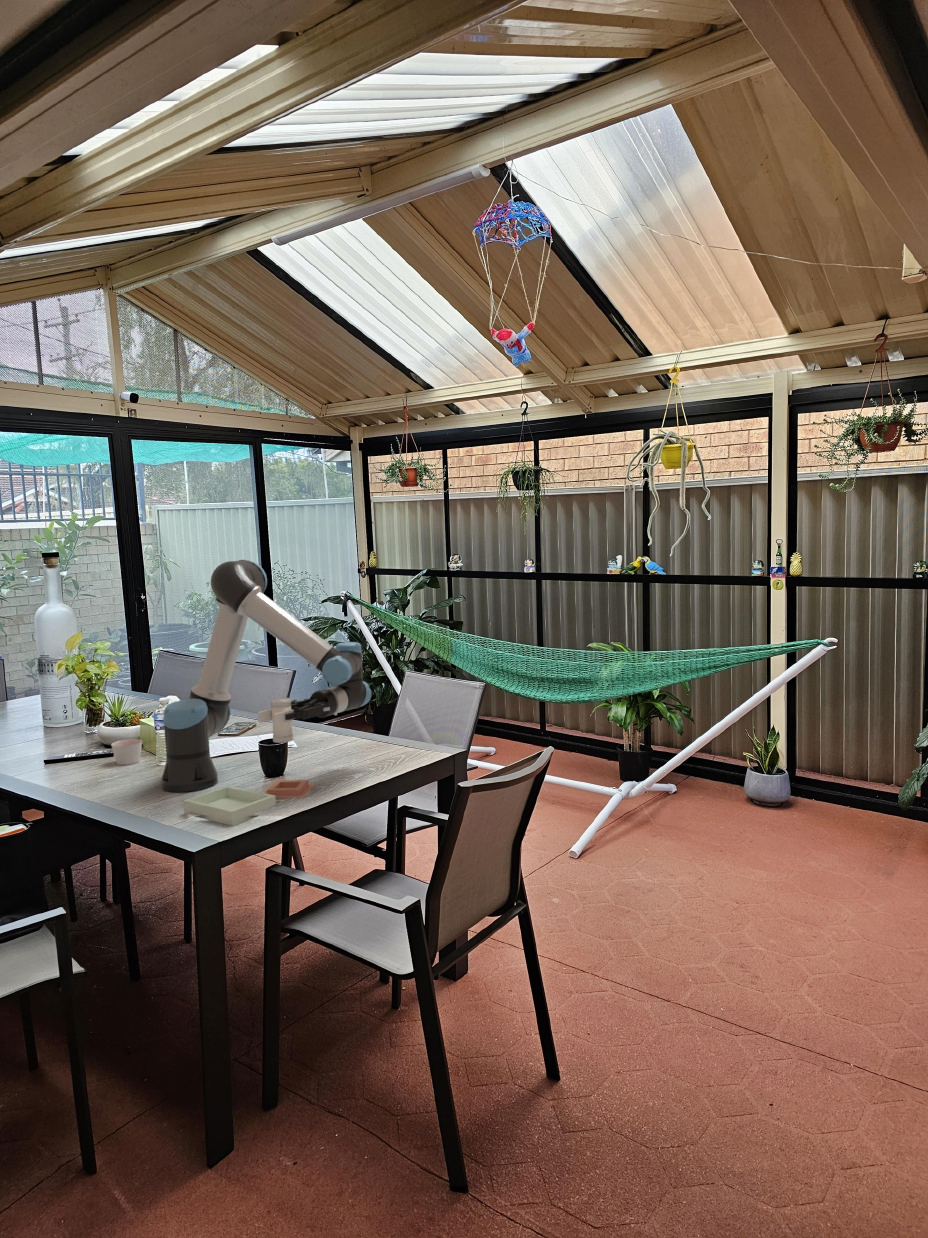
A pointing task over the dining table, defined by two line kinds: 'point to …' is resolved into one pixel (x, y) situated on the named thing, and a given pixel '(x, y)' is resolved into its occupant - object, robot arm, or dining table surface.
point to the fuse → (281, 730)
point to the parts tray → (229, 805)
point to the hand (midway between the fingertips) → (267, 718)
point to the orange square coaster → (289, 788)
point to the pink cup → (127, 751)
